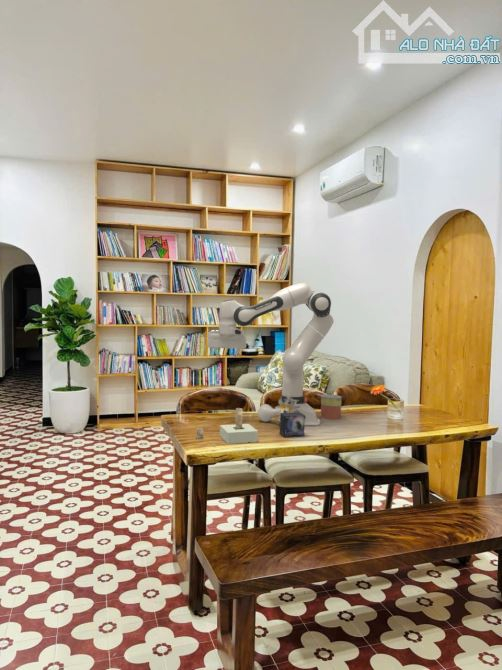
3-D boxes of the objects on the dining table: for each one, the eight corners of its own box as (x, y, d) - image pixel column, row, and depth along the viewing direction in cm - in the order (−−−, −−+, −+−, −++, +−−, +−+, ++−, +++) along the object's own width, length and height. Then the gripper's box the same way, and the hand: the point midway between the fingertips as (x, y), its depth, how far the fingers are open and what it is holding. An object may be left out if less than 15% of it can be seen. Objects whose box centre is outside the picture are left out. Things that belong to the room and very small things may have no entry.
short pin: (203, 437, 222) (203, 428, 221) (202, 439, 219) (202, 429, 218) (197, 437, 222) (197, 427, 222) (195, 439, 219) (196, 429, 219)
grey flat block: (248, 434, 230) (248, 423, 230) (257, 442, 217) (258, 431, 216) (219, 435, 226) (220, 425, 225) (227, 444, 212) (227, 432, 212)
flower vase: (258, 435, 254) (292, 432, 236) (249, 401, 255) (281, 396, 236) (275, 426, 263) (309, 424, 245) (266, 394, 263) (298, 389, 245)
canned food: (342, 420, 264) (343, 398, 263) (321, 419, 264) (322, 397, 264) (339, 415, 275) (339, 394, 275) (319, 415, 276) (320, 394, 275)
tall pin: (241, 438, 222) (242, 408, 222) (241, 439, 219) (242, 409, 219) (235, 437, 223) (236, 407, 222) (234, 439, 220) (235, 409, 219)
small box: (283, 437, 225) (284, 415, 225) (279, 434, 231) (279, 412, 231) (304, 436, 228) (305, 414, 227) (299, 433, 234) (300, 411, 234)
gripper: (206, 330, 250) (206, 356, 251) (245, 331, 249) (245, 358, 249) (208, 329, 257) (208, 355, 257) (247, 330, 255) (246, 356, 256)
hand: (226, 356), depth 253 cm, fingers open, 8 cm apart
